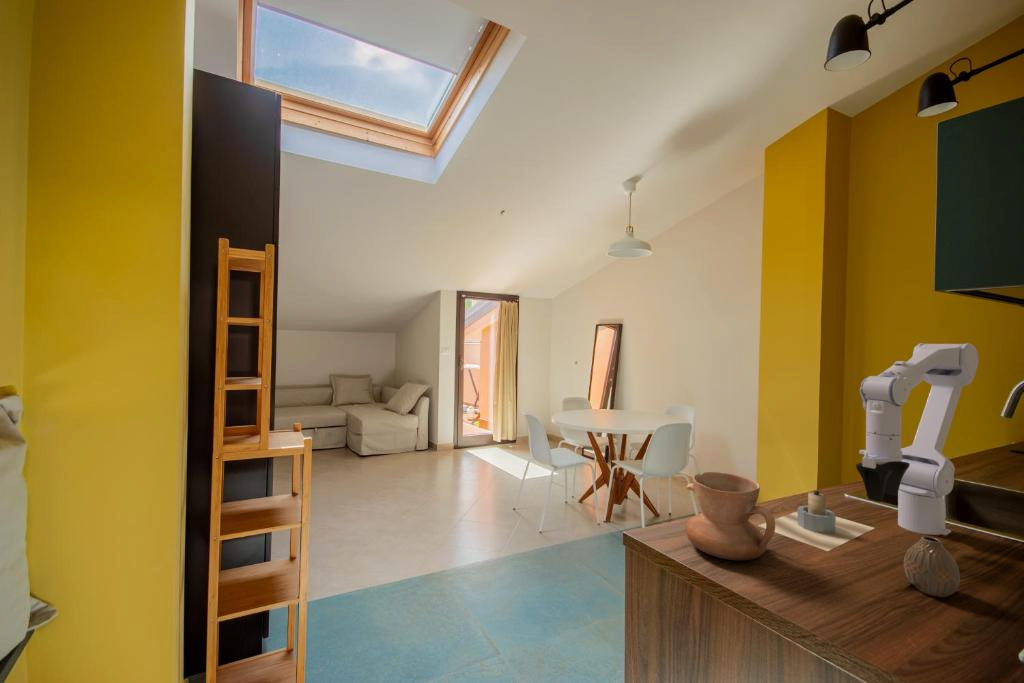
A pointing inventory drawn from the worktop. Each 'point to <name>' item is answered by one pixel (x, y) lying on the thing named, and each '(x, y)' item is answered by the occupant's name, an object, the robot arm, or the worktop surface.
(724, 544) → the ceramic jug
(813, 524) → the grey faceted ring
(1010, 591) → the worktop surface
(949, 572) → the vase
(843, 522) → the board
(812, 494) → the wick peg
